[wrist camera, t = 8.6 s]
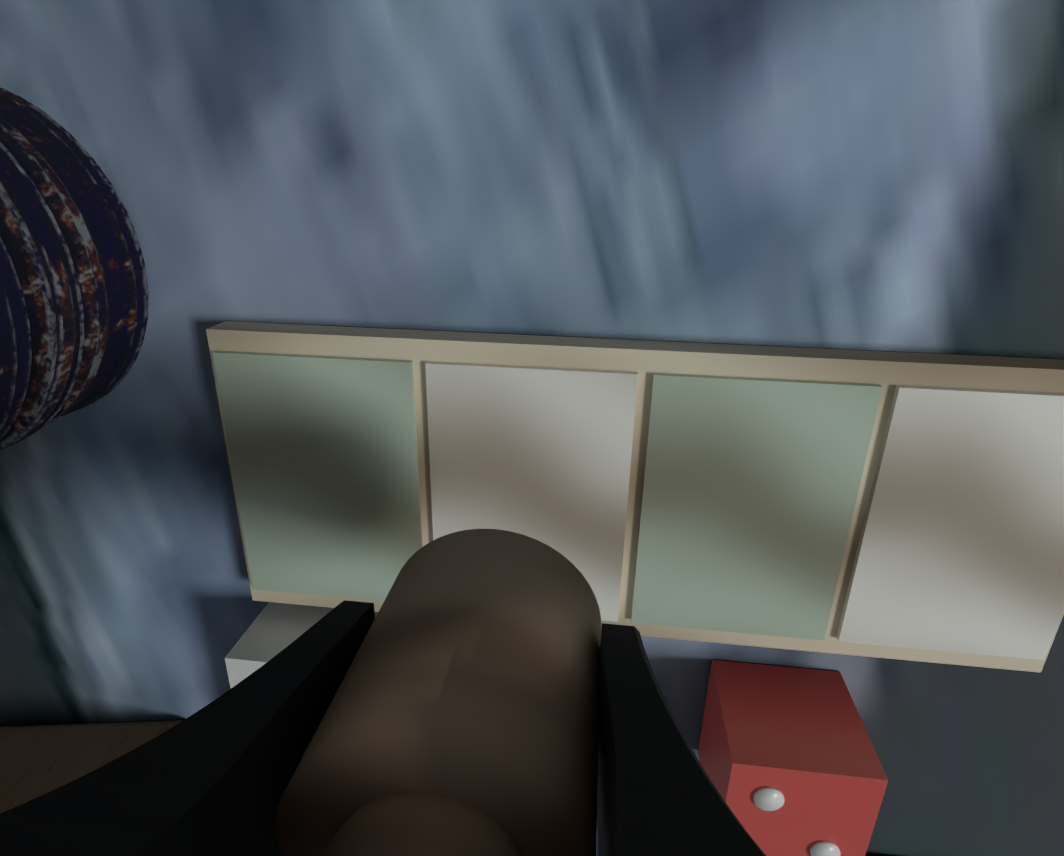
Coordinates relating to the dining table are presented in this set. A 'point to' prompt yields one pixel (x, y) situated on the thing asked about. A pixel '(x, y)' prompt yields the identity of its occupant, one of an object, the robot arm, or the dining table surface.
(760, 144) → the dining table surface
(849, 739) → the red die
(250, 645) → the dome housing
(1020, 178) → the dining table surface
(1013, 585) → the track board
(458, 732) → the pawn
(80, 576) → the dining table surface
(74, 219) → the storage jar
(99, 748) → the wooden block
